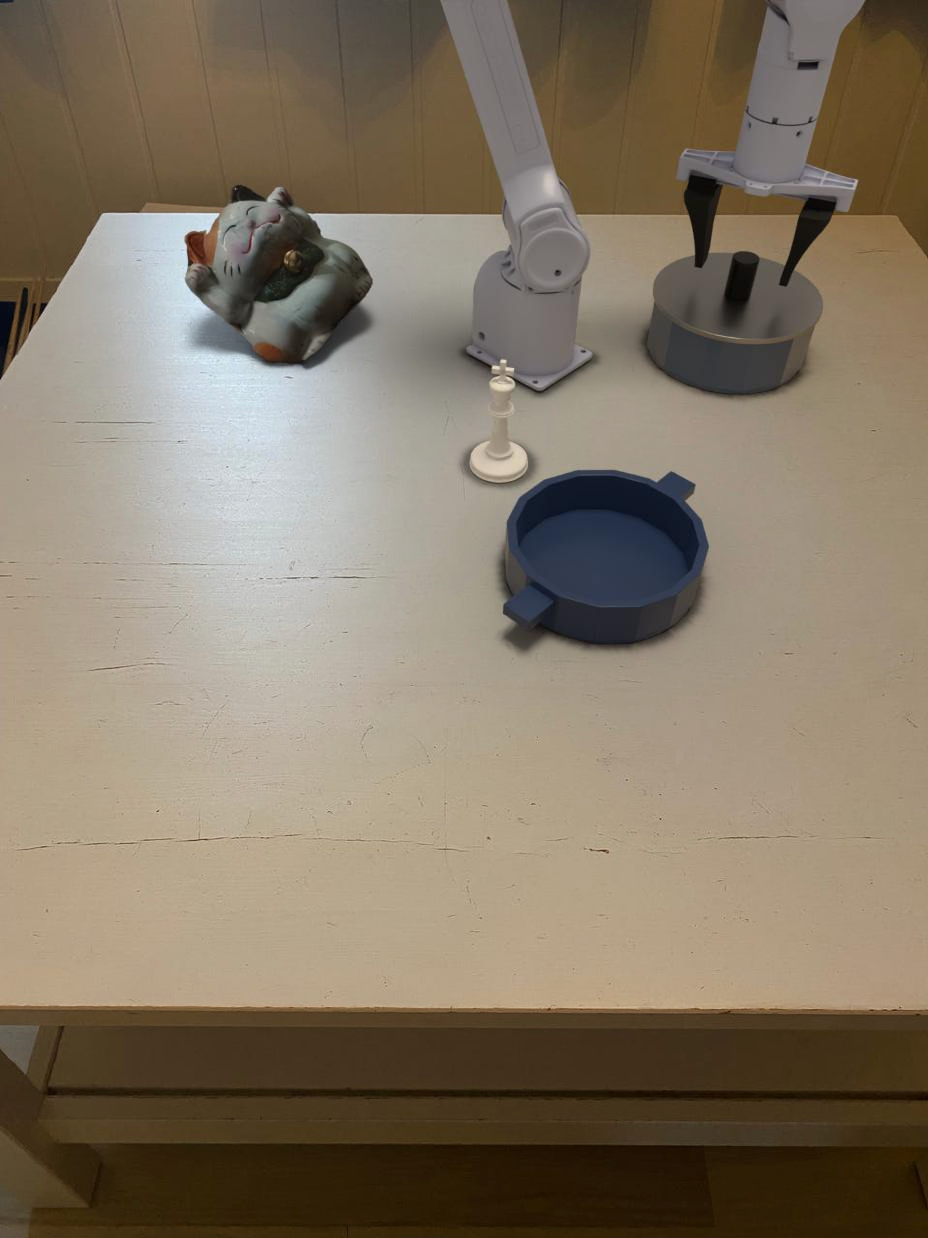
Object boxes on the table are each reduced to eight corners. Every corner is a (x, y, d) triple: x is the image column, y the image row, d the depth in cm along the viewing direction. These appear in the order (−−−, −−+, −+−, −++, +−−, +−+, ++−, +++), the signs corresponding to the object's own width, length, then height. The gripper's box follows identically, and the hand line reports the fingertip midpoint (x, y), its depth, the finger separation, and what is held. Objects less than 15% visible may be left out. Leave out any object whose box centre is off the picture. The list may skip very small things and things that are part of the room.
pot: (617, 350, 91) (624, 299, 87) (702, 293, 98) (713, 244, 94) (747, 413, 84) (761, 361, 80) (828, 348, 92) (846, 297, 88)
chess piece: (522, 486, 78) (530, 383, 70) (464, 478, 78) (465, 375, 71) (532, 449, 81) (539, 347, 73) (475, 442, 81) (477, 339, 74)
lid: (630, 326, 85) (637, 278, 82) (676, 250, 94) (685, 204, 91) (802, 366, 81) (817, 318, 78) (833, 283, 90) (848, 237, 87)
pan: (440, 591, 70) (440, 553, 67) (605, 467, 79) (611, 430, 76) (594, 700, 63) (600, 663, 60) (753, 551, 73) (766, 513, 70)
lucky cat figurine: (286, 384, 87) (189, 250, 78) (235, 373, 96) (143, 252, 88) (398, 283, 90) (316, 145, 82) (338, 282, 100) (259, 158, 91)
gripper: (679, 113, 75) (652, 274, 85) (867, 146, 71) (815, 310, 81) (701, 83, 79) (673, 240, 89) (880, 113, 75) (829, 273, 85)
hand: (742, 271), depth 85 cm, fingers open, 7 cm apart
